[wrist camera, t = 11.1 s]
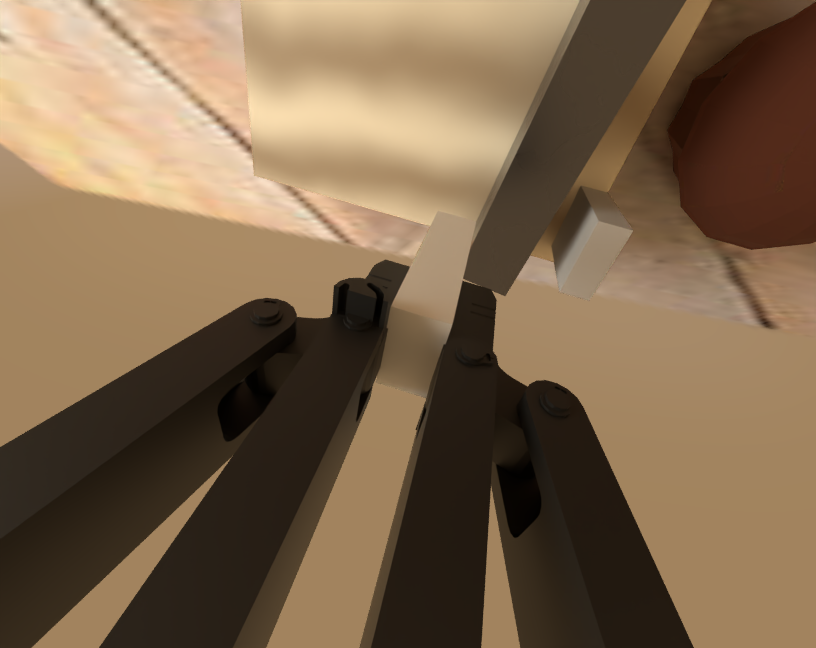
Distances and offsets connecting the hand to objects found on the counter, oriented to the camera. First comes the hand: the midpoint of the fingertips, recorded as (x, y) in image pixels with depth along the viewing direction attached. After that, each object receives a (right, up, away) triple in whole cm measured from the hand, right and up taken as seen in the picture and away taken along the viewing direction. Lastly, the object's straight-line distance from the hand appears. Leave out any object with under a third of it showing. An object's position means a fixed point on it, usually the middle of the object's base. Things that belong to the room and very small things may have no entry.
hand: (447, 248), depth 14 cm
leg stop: (+9, +3, +8) cm, 13 cm away
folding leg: (+7, +9, +5) cm, 12 cm away
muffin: (+20, +10, +8) cm, 24 cm away
